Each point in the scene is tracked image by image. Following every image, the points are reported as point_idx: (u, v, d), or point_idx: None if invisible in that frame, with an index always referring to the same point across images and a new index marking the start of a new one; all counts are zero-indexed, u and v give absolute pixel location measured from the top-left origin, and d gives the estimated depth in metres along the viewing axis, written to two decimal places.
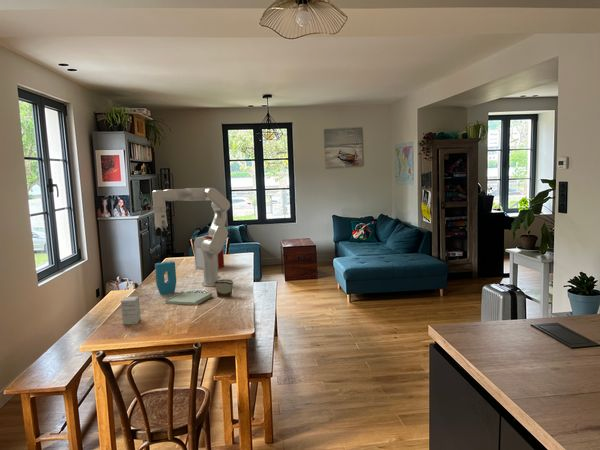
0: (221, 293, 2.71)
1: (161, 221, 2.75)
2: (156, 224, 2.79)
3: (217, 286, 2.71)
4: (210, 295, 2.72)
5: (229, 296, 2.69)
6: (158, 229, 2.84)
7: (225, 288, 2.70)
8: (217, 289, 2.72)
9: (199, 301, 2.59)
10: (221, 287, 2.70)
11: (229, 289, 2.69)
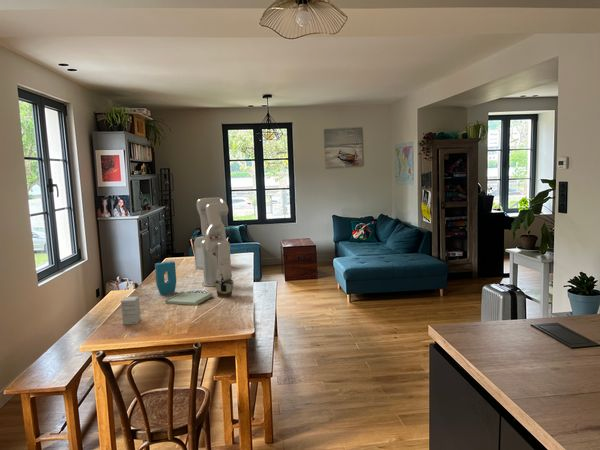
0: (221, 292, 2.71)
1: None
2: (227, 276, 2.70)
3: (217, 286, 2.71)
4: (210, 295, 2.72)
5: (229, 296, 2.69)
6: None
7: None
8: (217, 289, 2.71)
9: (199, 301, 2.59)
10: None
11: (229, 289, 2.69)
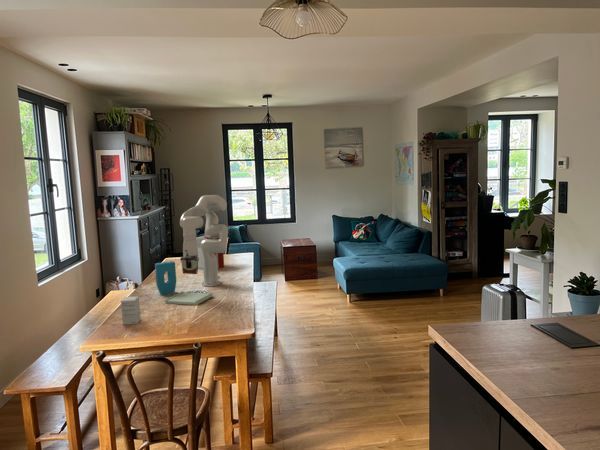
0: (186, 269, 2.69)
1: None
2: (193, 253, 2.68)
3: (183, 262, 2.69)
4: (210, 295, 2.72)
5: (195, 272, 2.67)
6: None
7: (191, 264, 2.67)
8: (183, 265, 2.69)
9: (199, 301, 2.59)
10: None
11: (194, 266, 2.67)
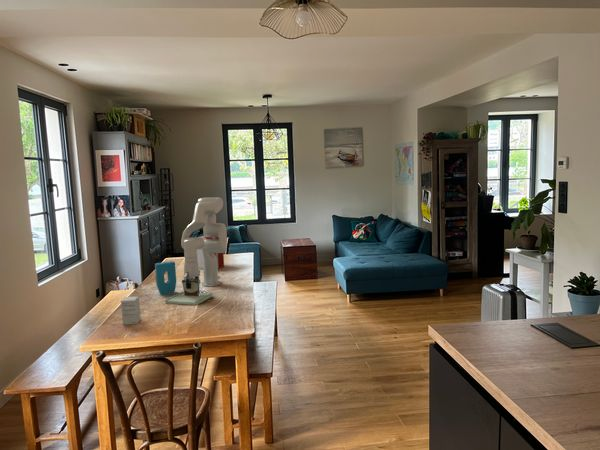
0: (188, 291, 2.71)
1: None
2: (194, 274, 2.69)
3: (184, 285, 2.71)
4: (210, 295, 2.72)
5: (196, 295, 2.69)
6: None
7: (192, 287, 2.69)
8: (184, 288, 2.71)
9: (199, 301, 2.59)
10: None
11: (196, 288, 2.69)
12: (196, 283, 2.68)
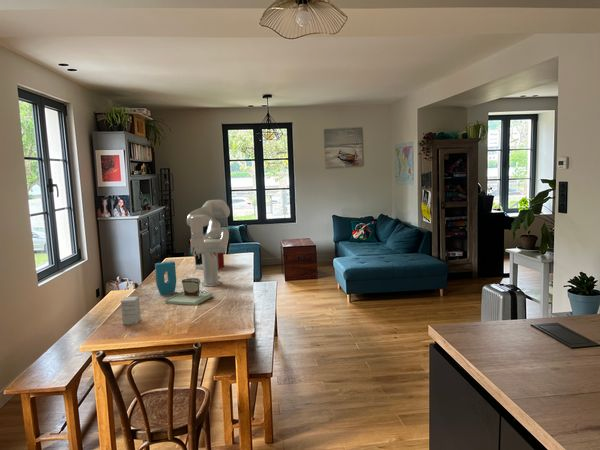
0: (188, 291, 2.71)
1: None
2: (200, 250, 2.76)
3: (184, 285, 2.71)
4: (210, 295, 2.72)
5: (196, 295, 2.69)
6: None
7: (192, 287, 2.69)
8: (184, 288, 2.71)
9: (199, 301, 2.59)
10: (188, 286, 2.70)
11: (196, 288, 2.69)
12: (196, 283, 2.68)
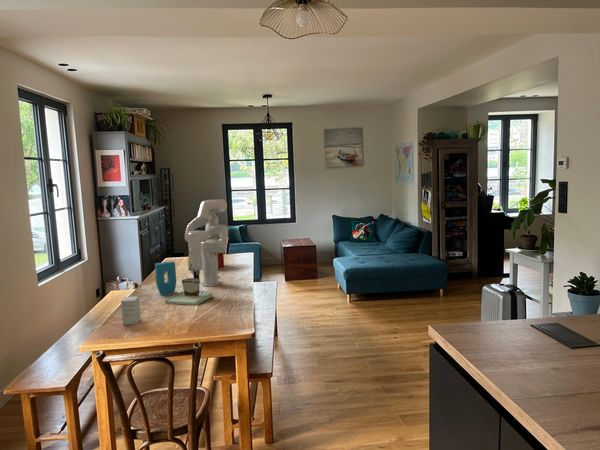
0: (188, 292, 2.71)
1: None
2: (198, 267, 2.74)
3: (184, 285, 2.71)
4: (210, 295, 2.72)
5: (196, 295, 2.69)
6: None
7: (192, 287, 2.69)
8: (184, 288, 2.71)
9: (199, 301, 2.59)
10: (188, 286, 2.70)
11: (196, 288, 2.69)
12: (196, 283, 2.68)
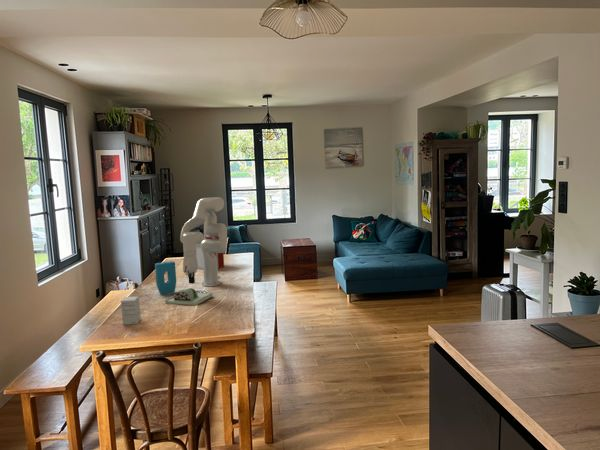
0: None
1: None
2: (193, 269, 2.68)
3: None
4: (210, 295, 2.72)
5: None
6: None
7: None
8: None
9: (199, 301, 2.59)
10: None
11: None
12: None
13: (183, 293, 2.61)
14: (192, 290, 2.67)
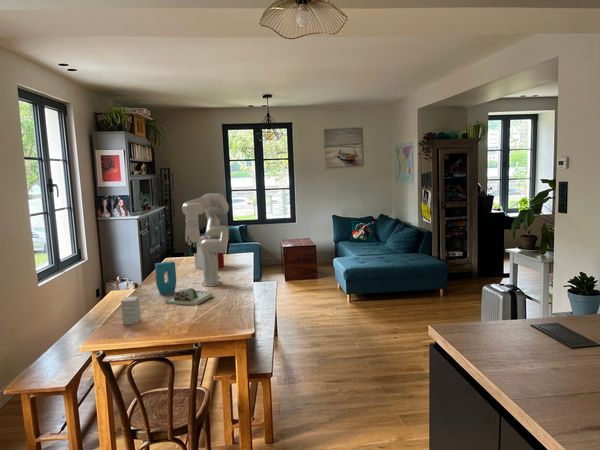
0: None
1: None
2: (195, 239, 2.71)
3: None
4: (210, 295, 2.72)
5: None
6: None
7: None
8: None
9: (199, 301, 2.59)
10: None
11: None
12: None
13: (183, 293, 2.61)
14: (192, 290, 2.67)
